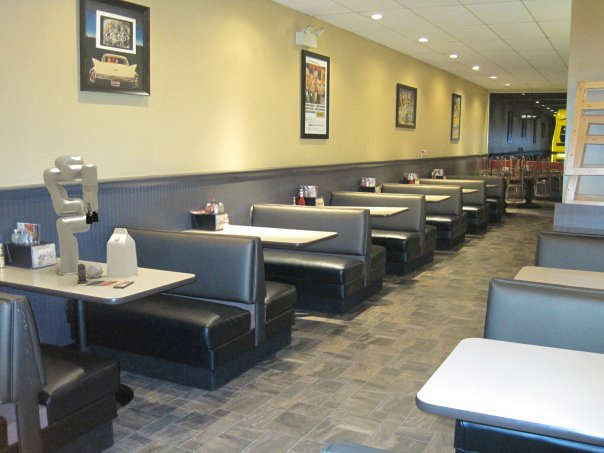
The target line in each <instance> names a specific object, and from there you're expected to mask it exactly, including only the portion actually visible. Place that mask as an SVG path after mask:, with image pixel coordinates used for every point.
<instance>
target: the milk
mask: <svg viewBox="0 0 604 453" xmlns="http://www.w3.org/2000/svg"><path fill="white" fill-rule="evenodd" d="M136 247H137V246H136V242H135V239H133V237H132V236H131V235H130V234H129V233H128V230H127V228H118V227H116V228H114V230H113V233H112V234H111V236H110V238H109V240H108V241H107V243H106V278H121V279H122V278H123V279H127V278H130V277H134V276H135V277H137V276H139V267H138V260H137V259H138V256H137V248H136Z"/></svg>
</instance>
